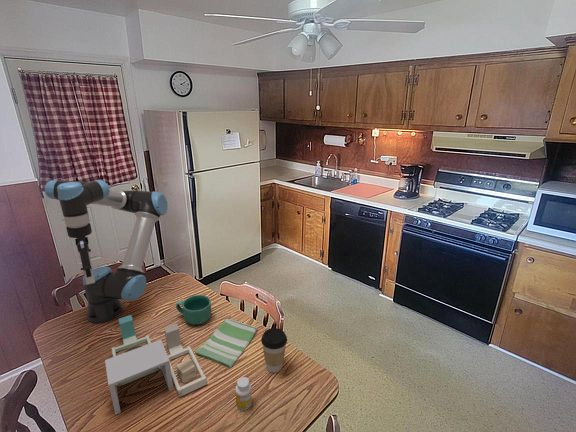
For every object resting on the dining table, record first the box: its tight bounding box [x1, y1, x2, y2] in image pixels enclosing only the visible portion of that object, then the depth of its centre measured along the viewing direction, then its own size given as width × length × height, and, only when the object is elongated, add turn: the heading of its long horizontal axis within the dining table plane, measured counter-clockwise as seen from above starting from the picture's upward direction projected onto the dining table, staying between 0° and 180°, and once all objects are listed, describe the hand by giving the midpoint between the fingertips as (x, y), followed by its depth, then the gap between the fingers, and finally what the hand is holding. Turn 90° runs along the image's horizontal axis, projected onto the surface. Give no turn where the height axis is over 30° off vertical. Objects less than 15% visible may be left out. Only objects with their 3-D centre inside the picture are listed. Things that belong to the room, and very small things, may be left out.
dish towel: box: [194, 317, 258, 369], centre depth 134 cm, size 18×23×3 cm
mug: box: [175, 294, 212, 325], centre depth 147 cm, size 17×13×10 cm
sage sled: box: [111, 314, 161, 388], centre depth 125 cm, size 28×14×9 cm, turn 34°
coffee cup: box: [260, 327, 288, 374], centre depth 120 cm, size 10×10×15 cm
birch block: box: [175, 358, 197, 384], centre depth 117 cm, size 5×5×5 cm
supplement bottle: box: [234, 376, 253, 411], centre depth 106 cm, size 5×5×10 cm
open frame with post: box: [164, 323, 208, 398], centre depth 120 cm, size 28×10×9 cm, turn 34°
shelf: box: [104, 339, 174, 415], centre depth 110 cm, size 12×18×13 cm, turn 124°
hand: (89, 275), depth 122 cm, fingers open, 13 cm apart
